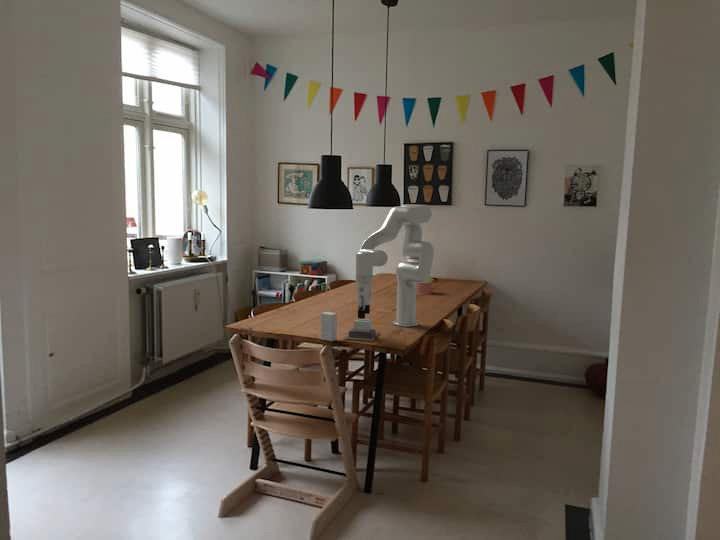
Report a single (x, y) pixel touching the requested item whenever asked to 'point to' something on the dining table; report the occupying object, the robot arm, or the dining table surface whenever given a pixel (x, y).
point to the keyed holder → (362, 335)
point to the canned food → (424, 287)
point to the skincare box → (329, 326)
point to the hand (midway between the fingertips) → (363, 315)
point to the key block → (362, 325)
